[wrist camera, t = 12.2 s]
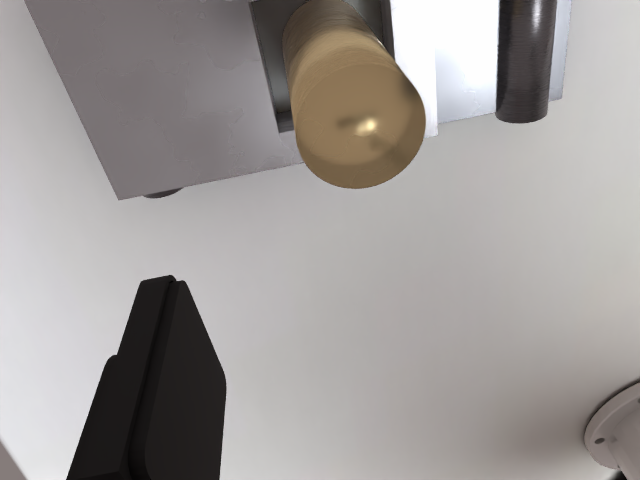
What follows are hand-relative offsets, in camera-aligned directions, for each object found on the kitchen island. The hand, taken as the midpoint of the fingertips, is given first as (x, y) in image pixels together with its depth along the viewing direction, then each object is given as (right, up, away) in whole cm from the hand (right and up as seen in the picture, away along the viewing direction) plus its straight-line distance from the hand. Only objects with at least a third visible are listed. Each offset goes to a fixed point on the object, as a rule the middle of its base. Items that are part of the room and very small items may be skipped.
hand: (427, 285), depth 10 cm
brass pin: (-2, +10, +14) cm, 17 cm away
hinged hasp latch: (-2, +10, +14) cm, 17 cm away
